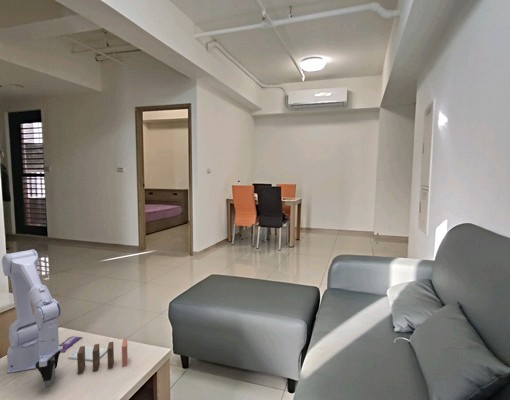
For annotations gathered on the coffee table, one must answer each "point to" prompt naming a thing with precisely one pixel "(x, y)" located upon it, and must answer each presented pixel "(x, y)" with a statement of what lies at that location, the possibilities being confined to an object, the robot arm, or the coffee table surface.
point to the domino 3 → (96, 357)
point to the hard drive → (88, 353)
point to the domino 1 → (49, 383)
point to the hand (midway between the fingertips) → (50, 374)
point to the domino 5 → (124, 353)
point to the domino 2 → (81, 360)
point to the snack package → (69, 343)
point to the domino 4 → (110, 355)
